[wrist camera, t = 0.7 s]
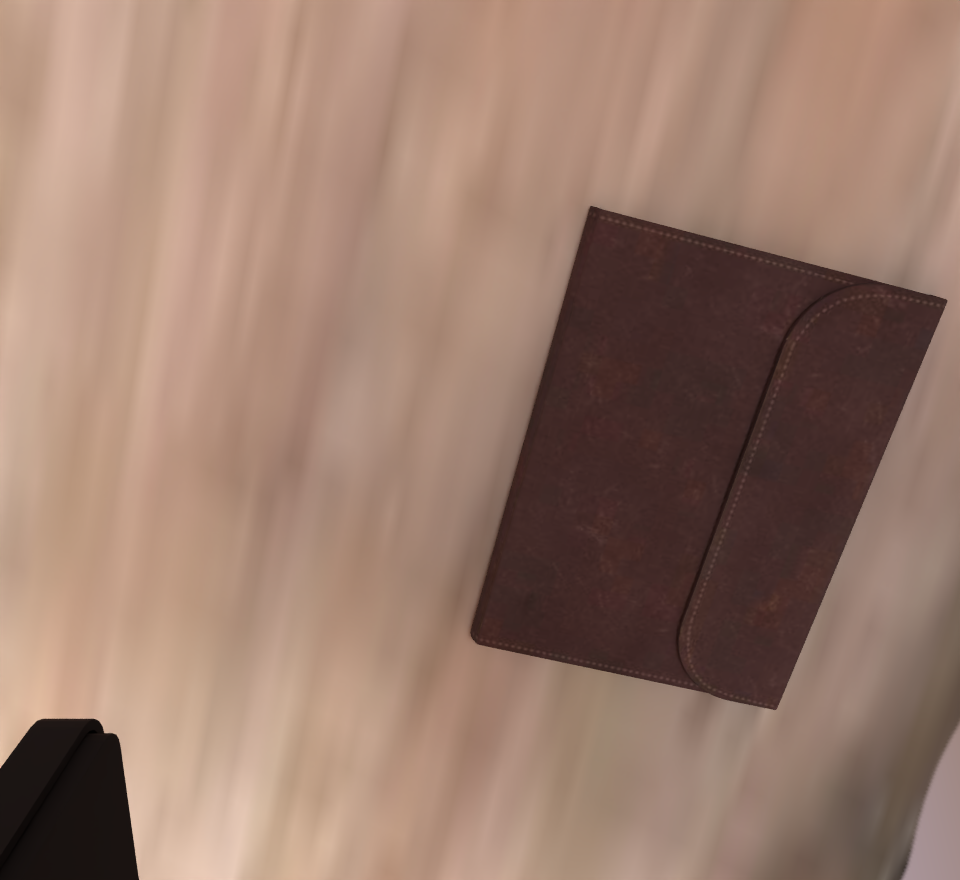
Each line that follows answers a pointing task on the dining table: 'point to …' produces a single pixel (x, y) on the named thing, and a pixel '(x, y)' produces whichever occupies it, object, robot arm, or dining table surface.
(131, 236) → the dining table surface
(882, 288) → the notebook
